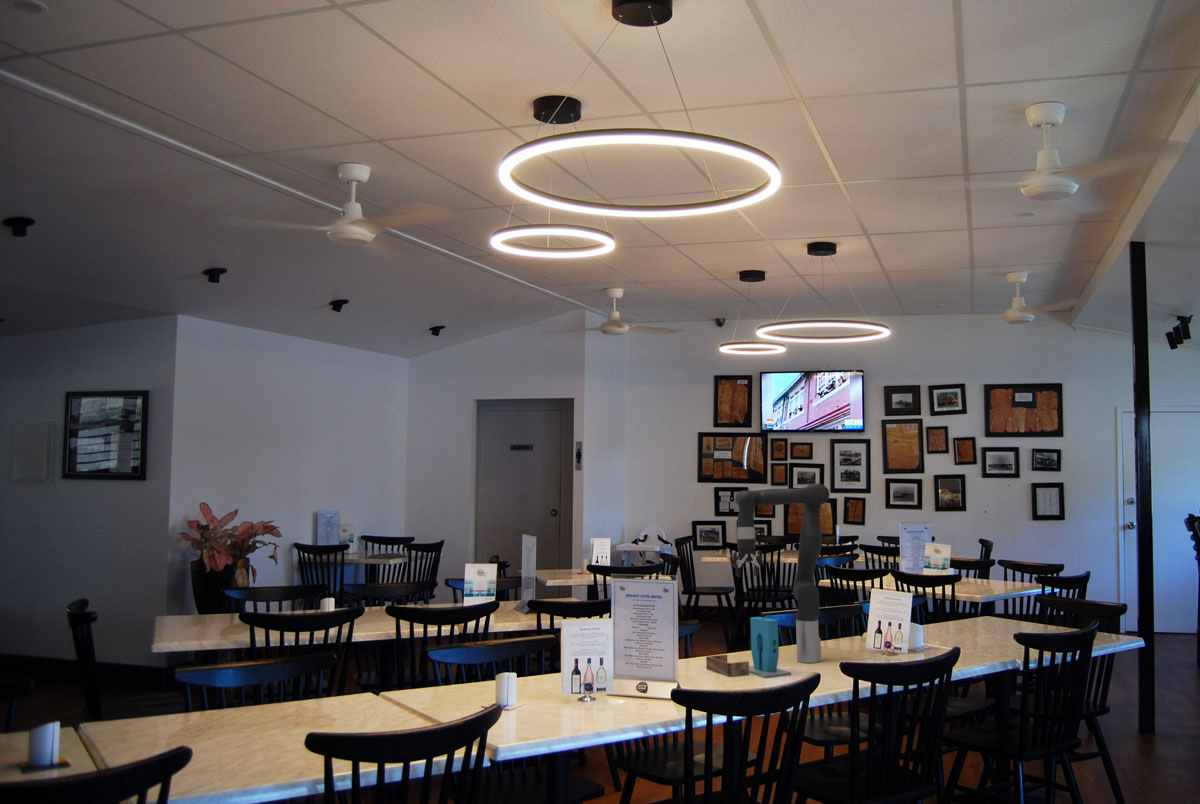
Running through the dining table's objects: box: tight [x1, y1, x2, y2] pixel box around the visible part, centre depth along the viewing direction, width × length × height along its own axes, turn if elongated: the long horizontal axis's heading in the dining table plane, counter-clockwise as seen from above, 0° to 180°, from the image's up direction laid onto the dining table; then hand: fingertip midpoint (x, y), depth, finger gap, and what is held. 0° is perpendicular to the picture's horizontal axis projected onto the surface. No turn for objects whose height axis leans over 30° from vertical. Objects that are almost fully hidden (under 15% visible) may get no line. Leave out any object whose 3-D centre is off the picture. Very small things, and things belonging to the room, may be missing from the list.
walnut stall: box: [705, 654, 750, 678], centre depth 364 cm, size 9×17×5 cm, turn 24°
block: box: [749, 616, 780, 672], centre depth 363 cm, size 12×5×20 cm, turn 31°
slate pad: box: [749, 665, 792, 679], centre depth 362 cm, size 12×18×1 cm, turn 24°
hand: (747, 576), depth 384 cm, fingers open, 8 cm apart
